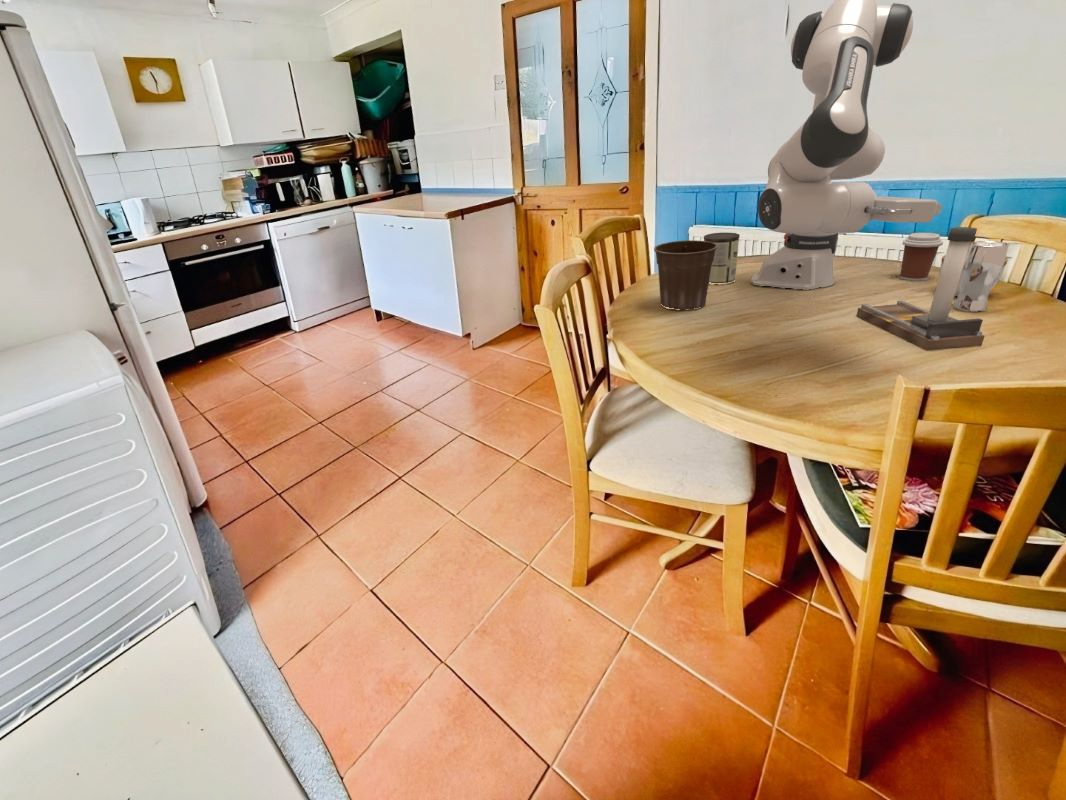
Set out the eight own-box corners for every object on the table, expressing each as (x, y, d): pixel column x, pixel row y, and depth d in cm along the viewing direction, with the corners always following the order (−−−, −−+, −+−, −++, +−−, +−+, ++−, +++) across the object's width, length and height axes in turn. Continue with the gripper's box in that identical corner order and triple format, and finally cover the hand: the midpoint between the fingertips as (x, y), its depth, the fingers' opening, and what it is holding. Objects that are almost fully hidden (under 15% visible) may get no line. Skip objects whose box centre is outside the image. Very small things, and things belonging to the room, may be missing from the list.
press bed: (856, 315, 121) (860, 295, 119) (901, 311, 121) (906, 291, 119) (927, 350, 101) (934, 326, 98) (981, 345, 101) (989, 321, 98)
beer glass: (994, 312, 116) (1017, 245, 109) (959, 313, 117) (980, 247, 110) (977, 303, 122) (998, 239, 115) (944, 304, 123) (963, 241, 116)
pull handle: (910, 324, 108) (936, 228, 99) (938, 321, 108) (966, 225, 99) (931, 333, 102) (960, 232, 93) (960, 330, 102) (992, 229, 93)
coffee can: (701, 277, 165) (704, 232, 159) (735, 277, 162) (739, 231, 155) (700, 285, 157) (703, 238, 150) (735, 285, 153) (740, 237, 147)
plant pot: (689, 317, 131) (693, 254, 123) (640, 307, 142) (641, 249, 135) (724, 302, 139) (730, 242, 132) (676, 293, 151) (678, 238, 143)
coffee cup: (891, 280, 144) (901, 237, 139) (896, 273, 150) (907, 231, 145) (930, 283, 139) (943, 238, 133) (934, 275, 145) (946, 232, 139)
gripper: (896, 191, 82) (972, 191, 83) (818, 187, 101) (882, 187, 102) (884, 232, 85) (959, 230, 86) (811, 221, 103) (873, 220, 104)
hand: (917, 207), depth 94 cm, fingers open, 8 cm apart
